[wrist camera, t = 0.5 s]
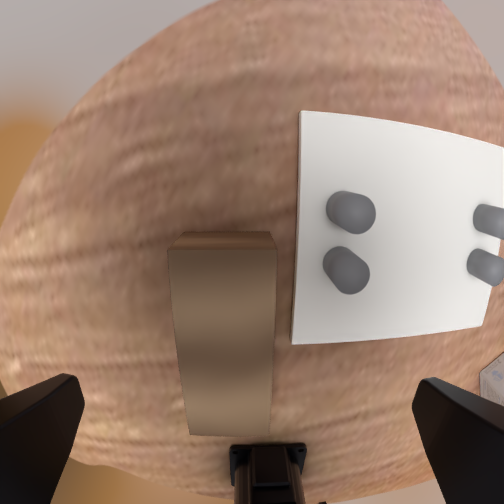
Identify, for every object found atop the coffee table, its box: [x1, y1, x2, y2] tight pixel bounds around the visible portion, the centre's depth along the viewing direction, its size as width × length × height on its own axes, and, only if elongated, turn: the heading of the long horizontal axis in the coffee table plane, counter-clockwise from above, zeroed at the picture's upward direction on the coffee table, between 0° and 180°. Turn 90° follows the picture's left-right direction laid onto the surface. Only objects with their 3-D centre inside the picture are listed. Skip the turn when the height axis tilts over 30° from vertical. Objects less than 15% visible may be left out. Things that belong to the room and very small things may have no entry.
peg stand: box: [290, 110, 504, 344], centre depth 17 cm, size 14×16×3 cm
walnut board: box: [167, 232, 277, 437], centre depth 18 cm, size 12×5×4 cm, turn 0°
